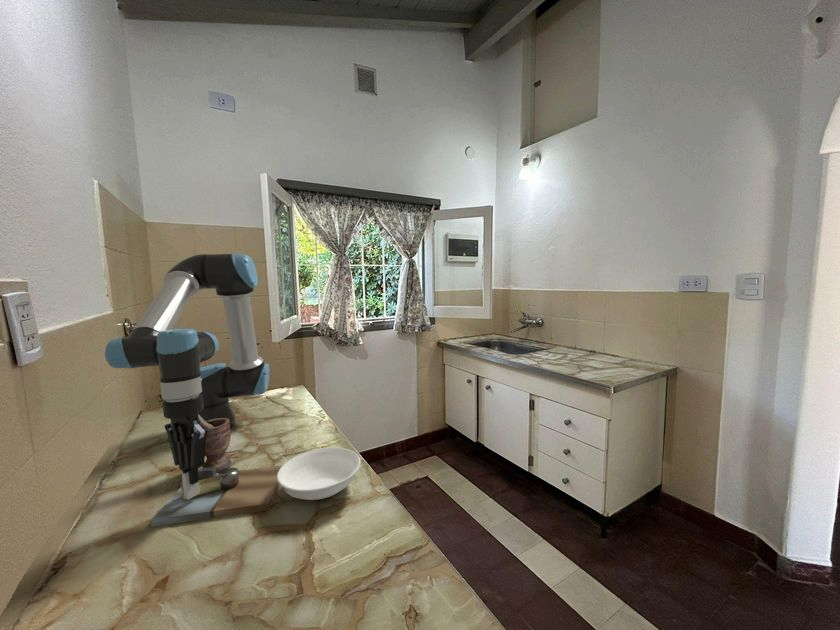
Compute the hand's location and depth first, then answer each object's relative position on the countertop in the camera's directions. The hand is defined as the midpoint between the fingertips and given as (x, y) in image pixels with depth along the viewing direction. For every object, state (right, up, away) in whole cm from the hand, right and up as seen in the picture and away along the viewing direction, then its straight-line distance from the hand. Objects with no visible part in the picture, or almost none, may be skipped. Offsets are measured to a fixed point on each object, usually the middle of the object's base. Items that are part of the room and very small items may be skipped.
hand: (192, 495), depth 77 cm
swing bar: (+2, -1, +4) cm, 5 cm away
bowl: (+29, -2, +5) cm, 29 cm away
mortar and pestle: (-7, -2, +17) cm, 19 cm away
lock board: (+5, -3, +5) cm, 8 cm away
